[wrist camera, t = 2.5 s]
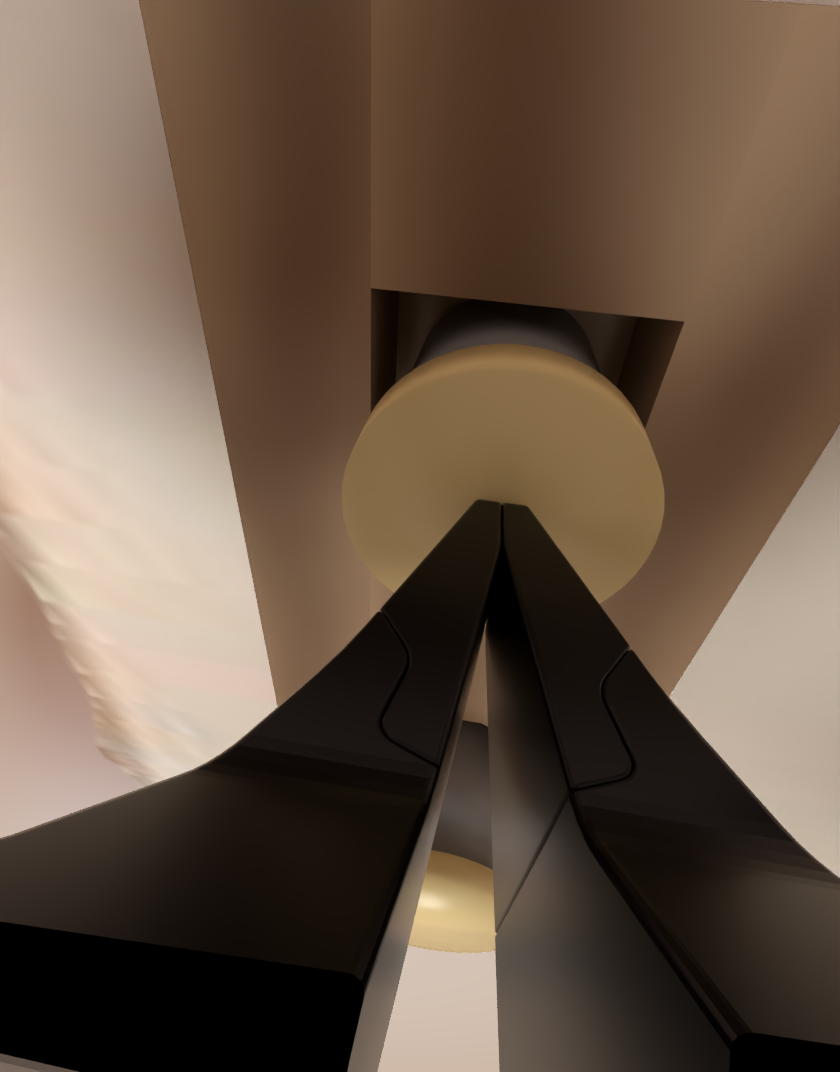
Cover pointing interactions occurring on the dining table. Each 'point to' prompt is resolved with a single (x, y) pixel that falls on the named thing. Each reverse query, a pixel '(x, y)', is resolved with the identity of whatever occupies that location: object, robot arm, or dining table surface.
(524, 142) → the socket block
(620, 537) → the outer button
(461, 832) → the inner button
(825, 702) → the dining table surface
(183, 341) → the dining table surface
